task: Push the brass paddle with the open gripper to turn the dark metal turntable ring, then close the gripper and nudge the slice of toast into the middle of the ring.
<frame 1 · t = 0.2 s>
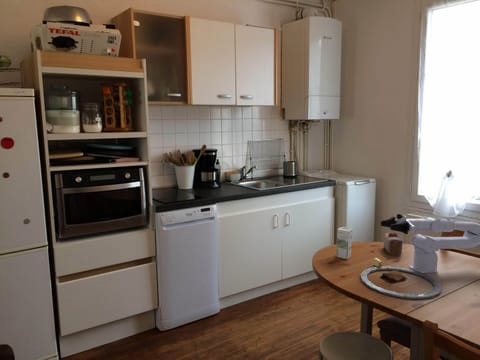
hand: (385, 225, 172), 22 cm above the table, tool horizontal, fingers open, 7 cm apart
food item: (392, 251, 203), on the table
syrup box: (343, 257, 194), on the table
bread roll: (393, 279, 170), on the table
turntable ring: (396, 276, 167), point 2 cm above the table, hinge at 0.0°
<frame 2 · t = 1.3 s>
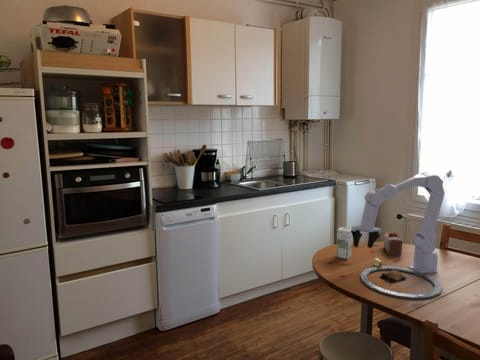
hand: (362, 247, 177), 10 cm above the table, tool pointing down, fingers open, 7 cm apart
nothing on the table moved.
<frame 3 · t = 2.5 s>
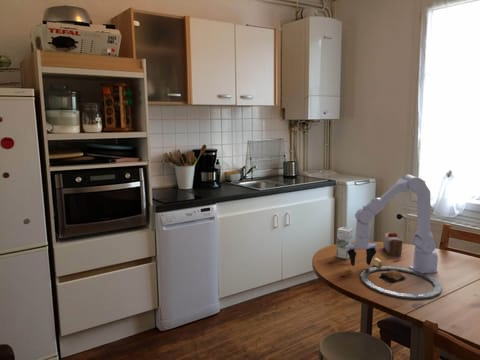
hand: (360, 264, 179), 2 cm above the table, tool pointing down, fingers open, 7 cm apart
nothing on the table moved.
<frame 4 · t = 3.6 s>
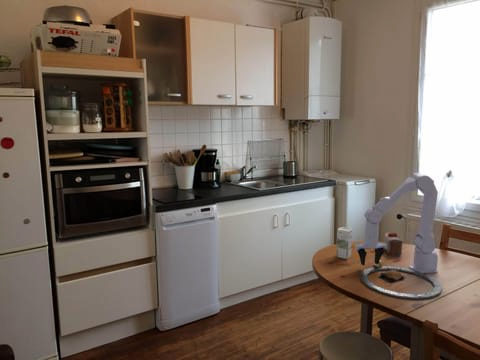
hand: (369, 264, 180), 2 cm above the table, tool pointing down, fingers open, 6 cm apart
turntable ring: (396, 276, 167), point 2 cm above the table, hinge at -0.5°, touching gripper
everything else where it was.
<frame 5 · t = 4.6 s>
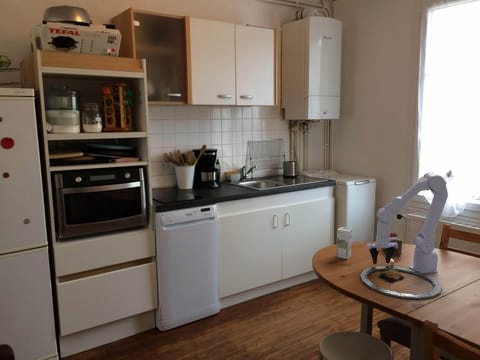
hand: (381, 263, 181), 2 cm above the table, tool pointing down, fingers open, 6 cm apart
turntable ring: (398, 276, 167), point 2 cm above the table, hinge at -20.5°, touching gripper
everything else where it was.
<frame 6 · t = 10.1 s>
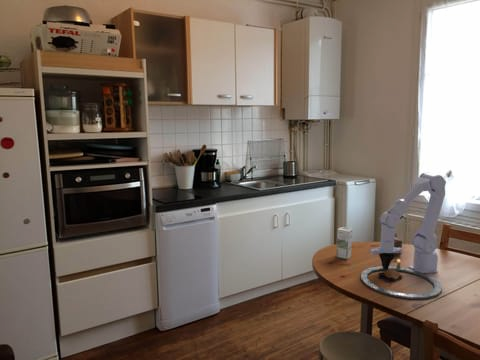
hand: (385, 268, 176), 2 cm above the table, tool pointing down, fingers closed
turntable ring: (399, 276, 167), point 2 cm above the table, hinge at -30.6°
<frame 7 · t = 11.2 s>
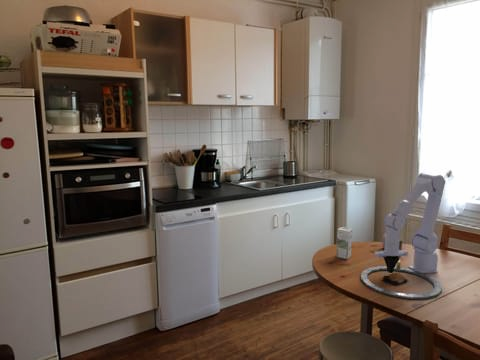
hand: (389, 272, 172), 2 cm above the table, tool pointing down, fingers closed
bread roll: (394, 282, 167), on the table
everything else where it was.
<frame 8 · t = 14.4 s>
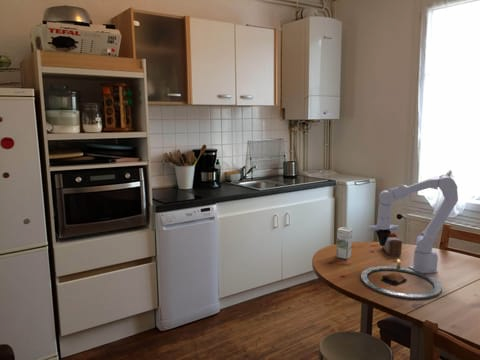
hand: (382, 245, 183), 9 cm above the table, tool pointing down, fingers closed
nothing on the table moved.
at the end: turntable ring at -31° (first picture: +0°); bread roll 2.9 cm from the turntable ring (horizontally) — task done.
